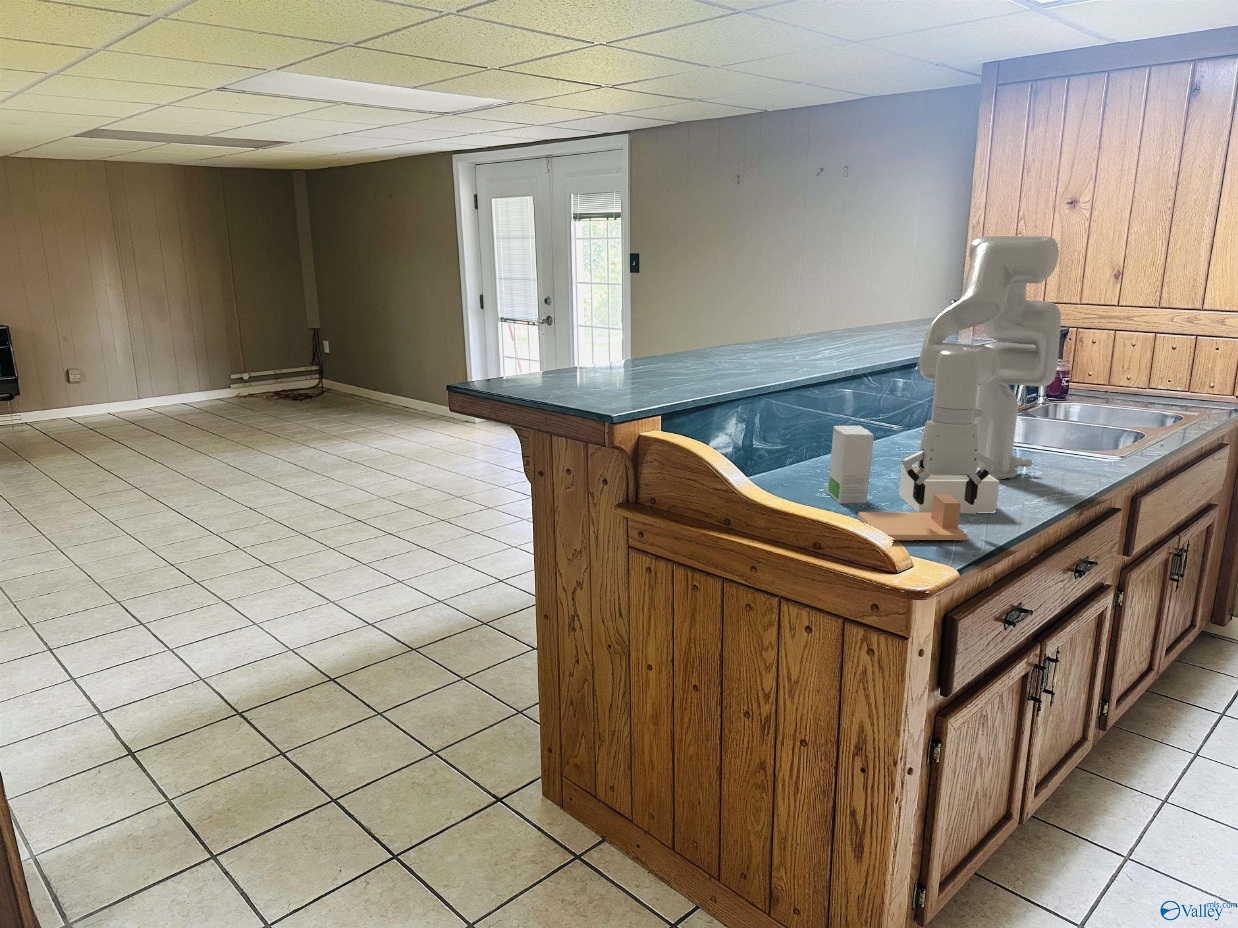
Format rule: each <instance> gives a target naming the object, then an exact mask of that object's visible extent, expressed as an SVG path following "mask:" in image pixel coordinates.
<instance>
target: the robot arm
mask: <svg viewBox="0 0 1238 928" xmlns="http://www.w3.org/2000/svg"><path fill="white" fill-rule="evenodd" d="M1059 252H1060V251H1059V245H1058V243H1057V240H1056V239H1055V238H1054V237H1052V236H1041V235H1039V236H1038V235H1037V236H1035V235H1033V236H1029V235H1028V236H1027V235H1026V236H1017V235H1016V236H1015V235H1011V236H1010V235H990V236H989V235H987V236H980V237H978V238H976V239H974V240H973V241H972V242H971V244H970V246H969V250H968V255H969V261H970V263H969V264H968V265H969V266H968V270H967V273H966V276H965V280H964V284H963V288H962V292H961V295H960V299H959V300H957V301H956V302H953V303H952V304H950V305H949V306H948V307H947V308H945V309H944V310H943V311H942V312H941V313H939V315H938V316H937V317H936V318H935V319H934V320H933V321H932V322H931V324H930V325H929V326H928V329H927V332H926V333H925V337H924V341H923V343H922V348H921V352H920V355H919V360H918V368H919V372H920V375H921V377H923V378H924V379H925V380H928V381H931V382H934V389H933V399H932V400H933V401H932V409H931V410H932V411H931V419H929V420H926V422H925V424H924V428H923V431H922V436H921V440H920V444H919V449H918V450H919V451H918V452H916V453H914V454H911V455H909V456H908V457H905V458H903V459H902V460H901V465H903V466H904V468H905V470H906V473H907V474H908V475H909V476H910V477H911V478H912V480H913V481H914V489H913V498H914V499H915V501H916V502H917V503H918V504H919V505H922V504H924V495H925V485H924V484H923V482H924V481H925V480H926V479H927V478H928V477H929V476H930V475H967V477H968V478H969V481H967V482H966V488H965V497H964V500H965V501H966V502H968V503H969V504H970V505H974V501H975V499H976V498H977V491H978V485H979V484H981V481H982V480H983V479H984V478H986V477H987V476H988V475H991V476H992V477H994V478H995V479H997V480H1005V479H1006V478H1009V479H1013V478H1016V477H1017V475H1018V470H1017V469H1018V468H1019V467H1023V468H1026V467H1027V468H1029V467H1030V468H1031V467H1032V466H1033V460H1032V459H1031V458H1022V457H1016V456H1015V455H1013V451H1014V444H1015V435H1016V427H1017V419H1018V411H1019V401H1018V398H1017V396H1016V394H1015V393H1014V391H1013V390H1012V389H1011V386H1010V385H1012V386H1015V385H1019V386H1027V387H1030V386H1031V387H1046V386H1049V385H1051V384H1052V383H1053V382H1054V380H1055V379H1056V378H1055V377H1056V375H1057V371H1058V362H1059V352H1060V350H1059V349H1060V340H1061V326H1062V325H1061V323H1062V321H1061V320H1062V317H1061V316H1062V315H1061V311H1060V308H1059V306H1058V305H1056V303H1054V302H1051V301H1043V300H1028V299H1027V298H1026V295H1027V293H1026V292H1027V284H1042V283H1043V282H1045V281H1046V280H1047V279H1048V278H1049V277H1051V275H1053V273H1054V271H1055V270H1056V267H1057V265H1058V263H1059V261H1058V260H1059ZM982 324H983V330H984V331H983V332H984V335H985V336H986V337H987V338H988V339H989V340H992V341H995V342H990V343H986V344H984V345H980V344H977V345H976V344H967V343H953V342H951V343H950V342H945V340H946V339H947V338H949V337H950V336H952V335H954V334H956V333H958V332H960V331H964V330H966V329H967V330H968V329H970V328H972V327H977V326H980V325H982ZM916 463H917V465H918V467H919V468H920V469H919V470H918V471H917V472H916V473H915V471H914V470H913V468H912V465H915V464H916ZM977 467H978V468H980V470H979V471H978V472H976V470H977ZM975 472H976V473H975ZM1006 480H1007V479H1006Z"/></svg>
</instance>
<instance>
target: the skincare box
mask: <svg viewBox="0 0 1238 928" xmlns="http://www.w3.org/2000/svg"><path fill="white" fill-rule="evenodd" d="M874 438H875V435H874V434H873V433H872V432H870V431H869V430H868V429H867V428H864V427H863V426H861V425H834V426H833V431H832V441H831V442H832V444H831V452H830V464H829V475H828V482H827V483H828V484H827V494H828V495H830V496H831V498H833V500H835V501H836V502H837V503H838V504H841V505H842V504H845V505H846V504H847V505H848V504H867V501H868V493H869V484H870V482H869V481H870V477H871V476H870V474H871V467H872V466H871V465H872V456H873V449H874V447H873V446H874Z"/></svg>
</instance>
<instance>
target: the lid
mask: <svg viewBox="0 0 1238 928" xmlns="http://www.w3.org/2000/svg"><path fill="white" fill-rule="evenodd" d="M960 504H961V503H960V502H958V501H957V500H956V499H954V498H953V497H952V496H951V495H949V494H933V504H932V512H917V511H915V512H912V511H910V512H909V511H908V512H907V511H905V512H903V511H902V512H901V511H900V512H899V511H898V512H894V511H893V512H891V511H890V512H888V511H883V512H882V511H877V512H875V511H868V512H867V511H858V515H857V517H858V519H860V520H861V522H862V523H863V522H865V523H866V524H869V525H870V526H873V527H874V528H877V529H878V530H881V531H882V532H884V533H885V534H887V535H888V536H890V537H892V538H894V539H895V540H894V541H897V542H898V541H901V542H903V541H914V540H955V541H967V540H968V534H967V533H966V532H965V531H963V530H962V529H961V528H960V527H959V519H960V514H961V513H960Z"/></svg>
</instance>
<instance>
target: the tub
mask: <svg viewBox="0 0 1238 928" xmlns="http://www.w3.org/2000/svg"><path fill="white" fill-rule="evenodd" d="M912 468H913V470H914V471H915V473H916V472H917V471H918V470H919V469H920V468H919V467H918V464H913V465H912ZM979 470H980V468H978V467H977V470H976V472H978V471H979ZM976 472H975V473H976ZM899 478H900V480H899V490H898V492H899V493H898V496H899V497H900V498H901V499H902V500H903V501H904V502H905V503H907V504H908V505H909V506H910V507H911V508H912V509H913V510H914V511H915V512H932V504H933V494H949V495H951V496H952V497H953V498H954V499H956V500H957V501H958V502H960V503H961V504H960V513H959V514H976V513H978V512H993V511H996V512H997V504H998V497H999V491H1000V490H999V489H1000V479H995V478H994V477H992V476H991V475H988V476H987V477H986V478H984V479H983V480H982V481H981V484H979V485H978V491H977V498H976V499H975V501H974V505H970V504H969V503H968V502H966V501H965V500H964V497H965V488H966V482H967V481H969V478H968V477H967V475H930V476H929V477H928V478H927V479H926V480H925V481H924V482H923V484H924V485H925V495H924V504H922V505H919V504H918V503H917V502H916V501H915V499H914V498H913V489H914V481H913V480H912V478H911V477H910V476H909V475H908V474H907V473H906V470H905V468H904V466H903V464H901V470H900V477H899Z"/></svg>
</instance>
